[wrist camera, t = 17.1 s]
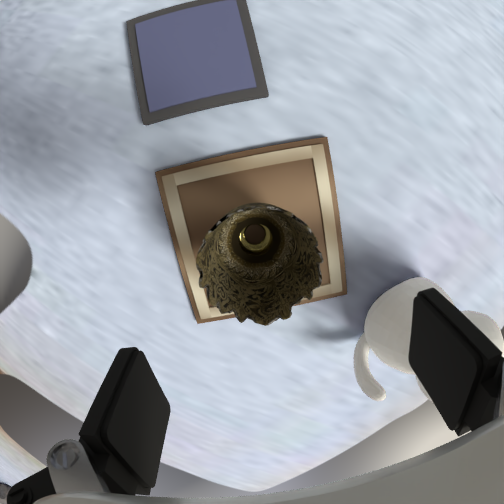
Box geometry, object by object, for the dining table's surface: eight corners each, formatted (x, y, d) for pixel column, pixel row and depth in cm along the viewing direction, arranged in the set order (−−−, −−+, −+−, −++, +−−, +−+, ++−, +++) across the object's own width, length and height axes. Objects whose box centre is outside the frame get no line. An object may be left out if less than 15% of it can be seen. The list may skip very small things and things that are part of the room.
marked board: (156, 171, 24) (154, 172, 23) (325, 137, 24) (327, 136, 23) (198, 320, 28) (197, 324, 28) (345, 291, 28) (347, 294, 27)
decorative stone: (27, 496, 49) (1, 478, 46) (22, 512, 43) (-6, 494, 40) (17, 498, 52) (-6, 481, 49) (12, 512, 46) (-12, 495, 43)
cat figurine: (449, 306, 29) (530, 385, 15) (361, 372, 31) (410, 478, 17) (423, 245, 27) (529, 319, 13) (321, 322, 29) (372, 445, 15)
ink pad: (129, 24, 20) (125, 20, 18) (243, -4, 19) (243, -10, 18) (146, 125, 23) (142, 124, 22) (267, 97, 22) (269, 94, 21)
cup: (248, 292, 27) (250, 345, 20) (190, 228, 25) (169, 263, 18) (317, 239, 26) (346, 277, 18) (262, 169, 24) (272, 179, 16)
